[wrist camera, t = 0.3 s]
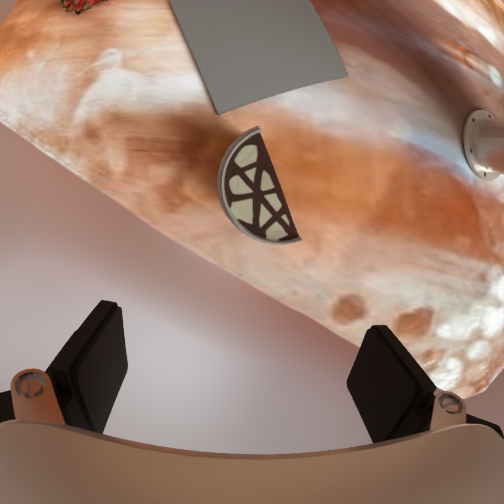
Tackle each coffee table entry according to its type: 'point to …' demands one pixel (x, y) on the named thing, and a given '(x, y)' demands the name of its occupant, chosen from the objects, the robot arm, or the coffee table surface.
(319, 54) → the mat
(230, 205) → the food container
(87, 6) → the dragon fruit
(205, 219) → the coffee table surface
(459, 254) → the coffee table surface
